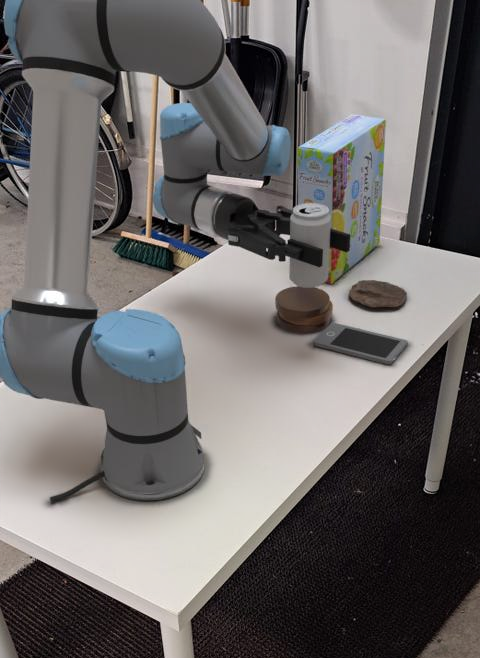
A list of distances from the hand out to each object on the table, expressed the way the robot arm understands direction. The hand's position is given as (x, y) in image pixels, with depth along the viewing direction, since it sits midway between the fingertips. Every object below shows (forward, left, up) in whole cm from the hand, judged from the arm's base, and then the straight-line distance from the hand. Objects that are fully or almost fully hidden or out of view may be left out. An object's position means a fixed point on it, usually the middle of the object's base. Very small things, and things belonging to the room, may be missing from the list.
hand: (334, 250), depth 134 cm
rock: (+25, +8, -20) cm, 33 cm away
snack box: (+34, +24, -20) cm, 46 cm away
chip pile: (+9, +13, -20) cm, 26 cm away
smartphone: (+9, 0, -20) cm, 22 cm away
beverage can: (0, +5, -7) cm, 8 cm away
